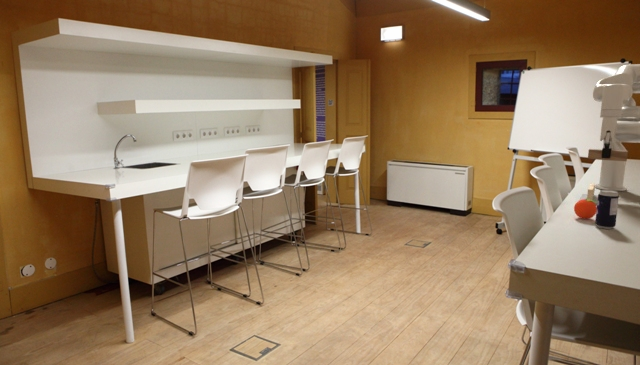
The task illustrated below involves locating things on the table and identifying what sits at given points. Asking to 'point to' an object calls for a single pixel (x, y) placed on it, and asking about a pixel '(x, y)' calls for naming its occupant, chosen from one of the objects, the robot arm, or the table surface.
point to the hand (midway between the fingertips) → (606, 157)
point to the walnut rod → (615, 156)
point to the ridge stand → (590, 194)
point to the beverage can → (607, 209)
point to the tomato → (585, 208)
